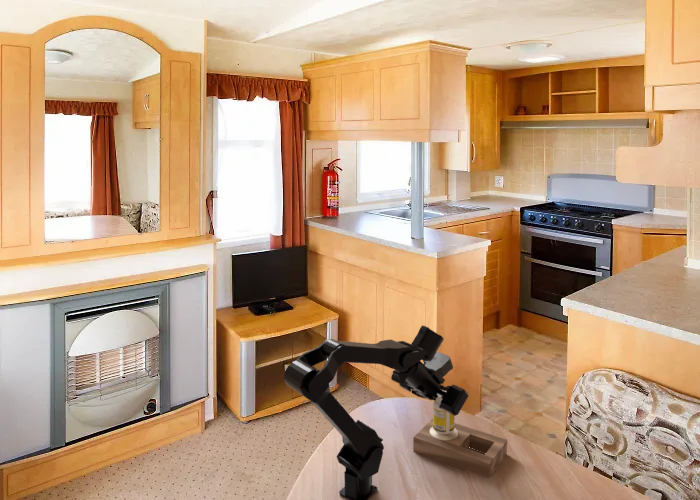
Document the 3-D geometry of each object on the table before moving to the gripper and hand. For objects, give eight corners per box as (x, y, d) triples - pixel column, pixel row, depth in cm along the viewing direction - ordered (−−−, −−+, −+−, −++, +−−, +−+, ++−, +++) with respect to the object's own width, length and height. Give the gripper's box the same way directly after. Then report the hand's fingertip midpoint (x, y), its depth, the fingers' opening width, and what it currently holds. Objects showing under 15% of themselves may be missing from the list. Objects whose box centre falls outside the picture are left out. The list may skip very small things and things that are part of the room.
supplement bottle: (449, 422, 139) (450, 388, 137) (457, 433, 134) (458, 397, 132) (430, 424, 138) (430, 389, 136) (436, 435, 133) (437, 399, 131)
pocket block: (488, 479, 124) (489, 462, 123) (413, 451, 136) (413, 435, 135) (506, 454, 134) (507, 438, 133) (434, 429, 145) (434, 415, 144)
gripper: (464, 359, 122) (492, 389, 131) (408, 335, 136) (436, 365, 145) (439, 401, 119) (470, 429, 127) (384, 372, 133) (415, 400, 142)
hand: (447, 403), depth 136 cm, fingers closed on supplement bottle, 5 cm apart
